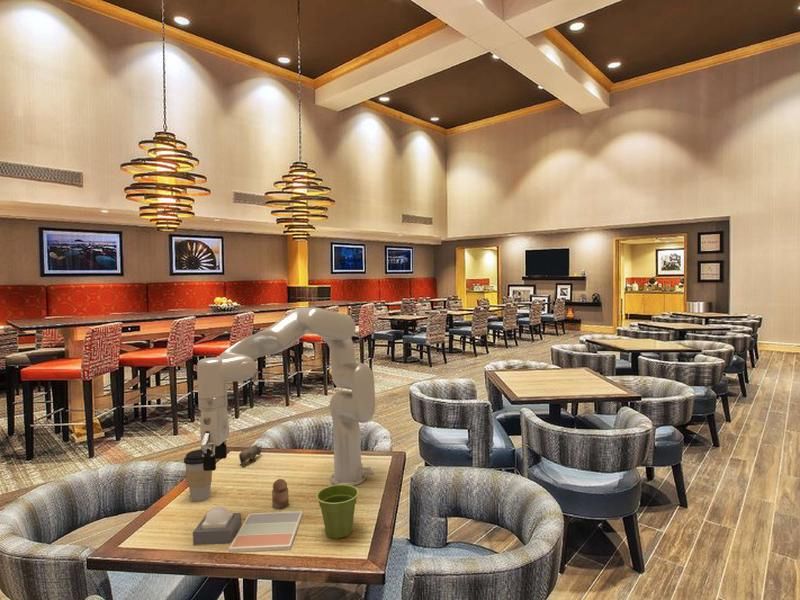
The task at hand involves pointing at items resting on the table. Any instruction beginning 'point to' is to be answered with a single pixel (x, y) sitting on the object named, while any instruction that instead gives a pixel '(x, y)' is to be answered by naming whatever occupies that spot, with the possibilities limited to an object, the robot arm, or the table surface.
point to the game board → (267, 532)
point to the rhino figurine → (249, 454)
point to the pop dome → (217, 518)
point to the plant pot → (338, 509)
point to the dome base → (217, 532)
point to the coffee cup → (197, 476)
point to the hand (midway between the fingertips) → (215, 463)
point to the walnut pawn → (280, 494)
